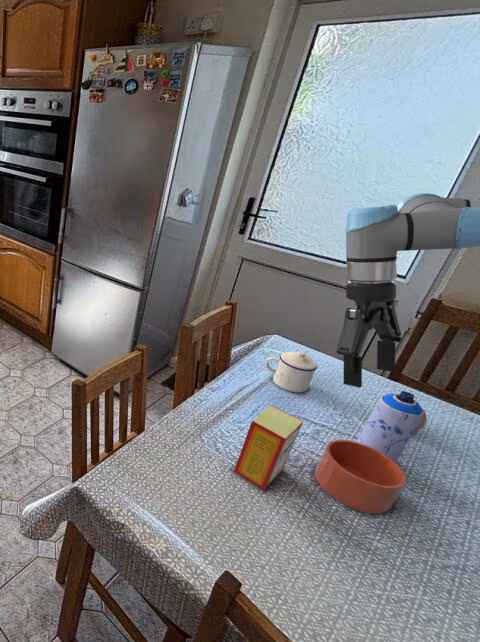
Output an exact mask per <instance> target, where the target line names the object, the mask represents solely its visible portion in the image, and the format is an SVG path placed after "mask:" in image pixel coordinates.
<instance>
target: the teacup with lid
mask: <svg viewBox="0 0 480 642" xmlns="http://www.w3.org/2000/svg"><path fill="white" fill-rule="evenodd" d="M270 361H275V362H277V363H278V364H277V365H276V369H275V368H272V367H271V366H270V365H269V362H270ZM264 362H265V367H266V369H267V370H268V371H269V372H271V373H274V374H273V377H272V380H273V383H274V384H276V385H277V386H278V387H279V388H281V389H283V390H285V391H288V392H292V393H298V394H299V393H305V392H306V391H308V388H309V386H310V383H311V381H312V379H313V376H314V374H315V371H316V370H317V369H318V363H317V362H316V361H315V360H314V358H312V357H310V356H308V355H307V354H306V352H304V351H301V350H299V351H285V352H282V353H281V354H280V355H279V358H278V357H274V356H270V357H267V358H266V360H265V361H264Z"/></svg>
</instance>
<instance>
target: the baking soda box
mask: <svg viewBox="0 0 480 642" xmlns="http://www.w3.org/2000/svg"><path fill="white" fill-rule="evenodd" d="M303 423H304V420H303V419H301V418H299V417H296V416H294V415H293V414H291V413H288V412H286V411H284V410H282V409H281V408H278V407H277V406H274V405H272V404H270V405H269V406H268V407H267V408H265V409H264V410H263V411H262V412H261V413H260V414H259V415H257V416H256V417H255V418H254V419H253V420H252V421H251V423H250V426H249V429H248V431H247V434H246V437H245V439H244V442H243V445H242V447H241V450H240V453H239V456H238V458H237V461H236V464H235V467H234V469H233V472H235V474H237V475H239V476H241V477H242V478H244V479H245V480H246V481H248V482H250V483H251V484H252V485H254V486H256V487H257V488H259V489H260V490H261V491H265V490H267V488H268V487H269V486H270V485H271V483H272V482H273V481H274V480H275V479H276V478H277V477H278V476H279V475H280V474H281V472H283V470H284V467H285V464H287V460H288V458H289V456H290V453H291V451H292V449H293V447H294V444H295V443H296V442H295V441H296V440H297V437H298V436H299V433H300V430H301V427H302V425H303Z"/></svg>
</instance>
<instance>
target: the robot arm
mask: <svg viewBox="0 0 480 642" xmlns="http://www.w3.org/2000/svg"><path fill="white" fill-rule="evenodd" d="M478 247H480V199H470V198H468V199H466V198H456V197H443V196H440V195H437V194H434V193H427V192H419V193H416V194H412V195H409V196H408V197H406V198H405V199H403V200H401V201H400V203H399V204H398V205H396V204H382V205H370V206H360V207H354V208H352V209H350V210H349V211H348V212H347V214H346V227H345V254H346V255H345V257H346V259H345V260H346V261H345V262H346V264H345V265H344V266H343V267H344V269H345V270H346V273H345V274H346V279H347V280H348V281H347V282H346V283H345V298H347V299H348V300H350V301H354V302H355V304H354V307H346V308H345V313H344V322H343V325H342V329H341V333H340V337H339V341H338V345H337V348H336V354H337V355H340V356H343V385H346V386H350V387H356V388H359V389H360V388H362V387H363V356H361V355H360V354H361V351H362V349H363V346H364V345H365V342H366V339H367V337H368V334H369V332H370V331H371V330H373V329H374V330H375V333H376V335H377V336H378V338H379V340H377V342H376V346H377V347H376V369H377V370H380V371H387V372H391V373H394V372H395V371H396V343H401V342H402V340H403V337H402V332H401V327H400V324H399V320H398V316H397V313H396V309H395V300H396V298H397V282H395V281H394V280H396V279H397V278H398V259H397V258H398V257H397V255H398V252H405V251H407V252H408V251H427V250H428V251H431V250H432V251H433V250H453V249H457V250H461V249H469V248H478Z"/></svg>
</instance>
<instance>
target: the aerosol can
mask: <svg viewBox="0 0 480 642" xmlns="http://www.w3.org/2000/svg"><path fill="white" fill-rule="evenodd" d="M423 409H424V408H423V407H422V406H421V404H419V402H418V401H416V400H415V395H414V394H413V393H411V392H408V391H404V390H402V391H400V393H388V394H383V395H381V396H380V397H379V398H378V400H377V402H376V404H375V406H374V407H373V410H372V411H371V414H370V415H369V418H368V420H367V421H366V423H365V425H364V427H363V429H362V431H361V433H360V435H359V436H358V438H357V440H356V442H358V443H361V444H364V445H367V446H369V447H372V448H374V449H376V450H378V451H379V452H381V453H383V454H384V455H386V456H387V457H389V458H390V459H392V460H393V461H394V462H395V463H396V464H397V462H398V460H399V458H400V456H401V455H402V453H403V451H404V450H405V448H406V447H407V445H408V443H409V441H410V439H411V438H412V437H413V434H414V433H415V432H416V431H415V430H416V428H417V426H418V424H419V423H420V421H421V419H422V418H423V415H424V411H425V410H424V411H423ZM414 431H415V432H414Z"/></svg>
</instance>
